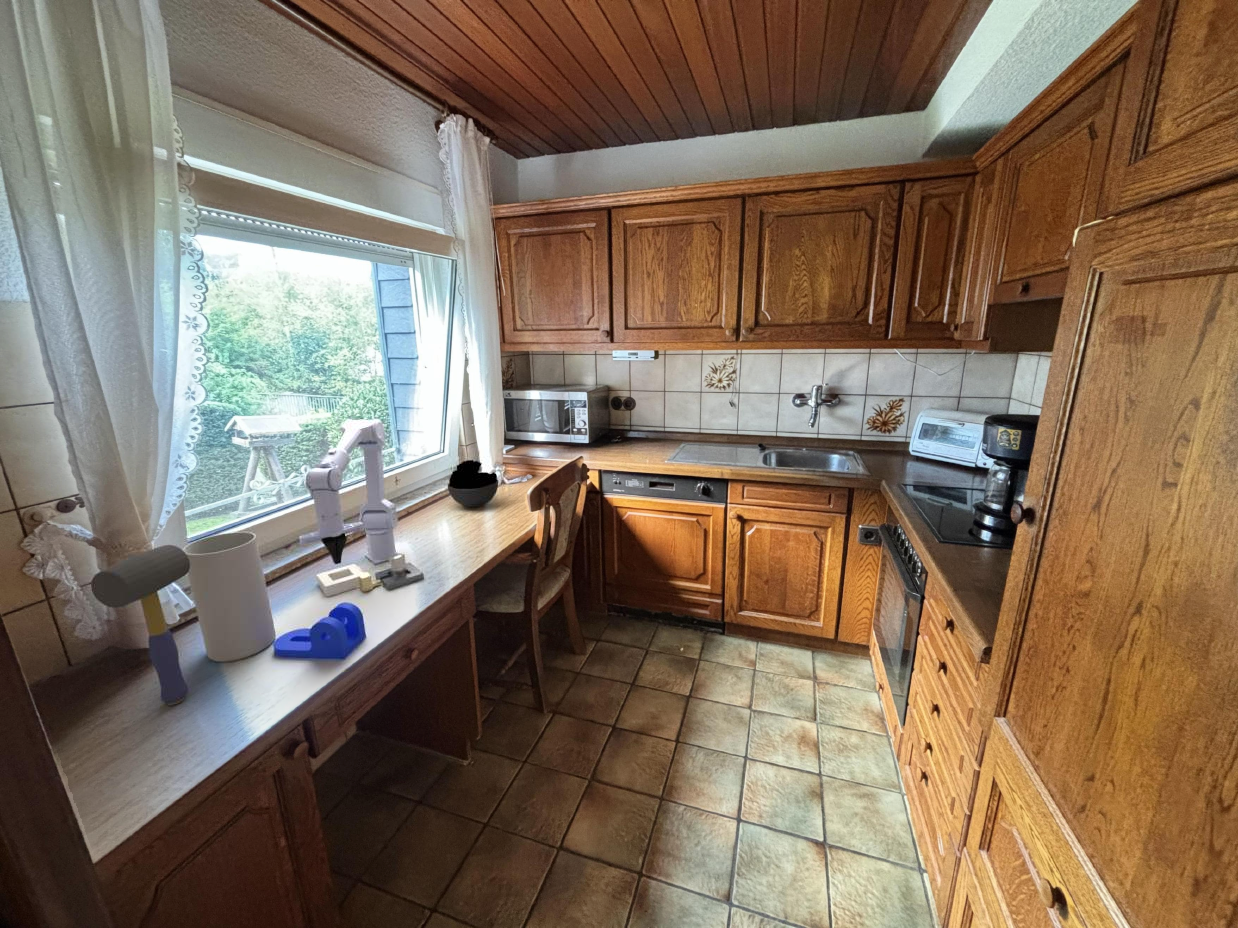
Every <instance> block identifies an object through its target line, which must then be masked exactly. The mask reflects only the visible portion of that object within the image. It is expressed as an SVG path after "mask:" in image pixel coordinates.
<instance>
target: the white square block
mask: <svg viewBox="0 0 1238 928" xmlns="http://www.w3.org/2000/svg"><path fill="white" fill-rule="evenodd" d="M363 573H364V572H363V570H362V569H361V568H359V567H358V565H356V563H352V564H348V565H345V566H341V567H338V568H335V569H331V570H327V571H323V572H320V573H317V574H316V580H317V581H316V583H317V585H318V586H319V588H320V589H321V591H322V592H323V593H324V594H325V595H326V597H328V598H329V597H331V596H334V595H337V594H341V593H344V592H347V591H350V590H354V589H356V588H360V584H359V577H358V575H359V574H363Z"/></svg>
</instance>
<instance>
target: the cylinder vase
mask: <svg viewBox="0 0 1238 928" xmlns="http://www.w3.org/2000/svg"><path fill="white" fill-rule="evenodd" d="M182 550H183V551H184V552H185V553H186V554H187V556H188V558H189V560H190V569H189V571H188V573H187V576H188V580H189V585H190V589H191V593H192V598H193V601H194V606H195V610H196V614H197V619H198V623H199V627H200V631H201V636H202V638H203V643H204V646H205V647H204V648H205V652H206V656H207V657H208V659H210V660H211V661H215V662H219V663H221V662H222V663H223V662H226V663H227V662H234V661H238V660H242V659H246V658H248V657H251V656H254V655H256V654H258V653H260V652H262V651H263V650H264V649H266V648H268V647H269V646H270V645H271V644H272V643H274V641H275V638H276V629H275V623H274V618H273V613H272V609H271V608H272V607H271V604H270V599H269V595H268V594H269V593H268V589H267V583H266V580H265V574H264V570H263V564H262V559H261V555H260V549H259V544H258V539H257V535H256V534H255V533H254V532H251V531H235V532H233V531H232V532H226V533H220V534H216V535H211V536H207V537H204V538H201V539H198V540H195V541H193V542H190V543H189V544H186V546H184V547H183V548H182Z"/></svg>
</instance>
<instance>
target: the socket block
mask: <svg viewBox="0 0 1238 928" xmlns="http://www.w3.org/2000/svg"><path fill="white" fill-rule="evenodd" d="M405 563H406V570H407V575H404V576H400V577H397V578H394V579H393V578H392V574H391V567H390V568H386V569H383V570H380V571H376V572H375V573H374V576H375V580H379V579H380V580H381V583H382V586H383V587H384V588H385V589H386V590H387V591H390V590H394V589H397V588H400V587H404V586H406V585H409V584H413V583H415V582H419V581H422V580H424V579H425V574H424V572H423V571H421V570H420V569H419V568H418V567H417V566H415V565H414V564H413V563H411V562H405Z"/></svg>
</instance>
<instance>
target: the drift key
mask: <svg viewBox="0 0 1238 928" xmlns="http://www.w3.org/2000/svg"><path fill="white" fill-rule="evenodd" d="M358 577H359V584H360V587H359V588H360V590H362V592H363V593H364V592H367V591H370V590H373V589H374V588H375V587H378V586H380V585H383V583H381V580H380V579H379V580H377V579H375V580H372V575H371V574H370V573H369V572H368V571H367V572H363V574H359V575H358Z"/></svg>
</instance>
